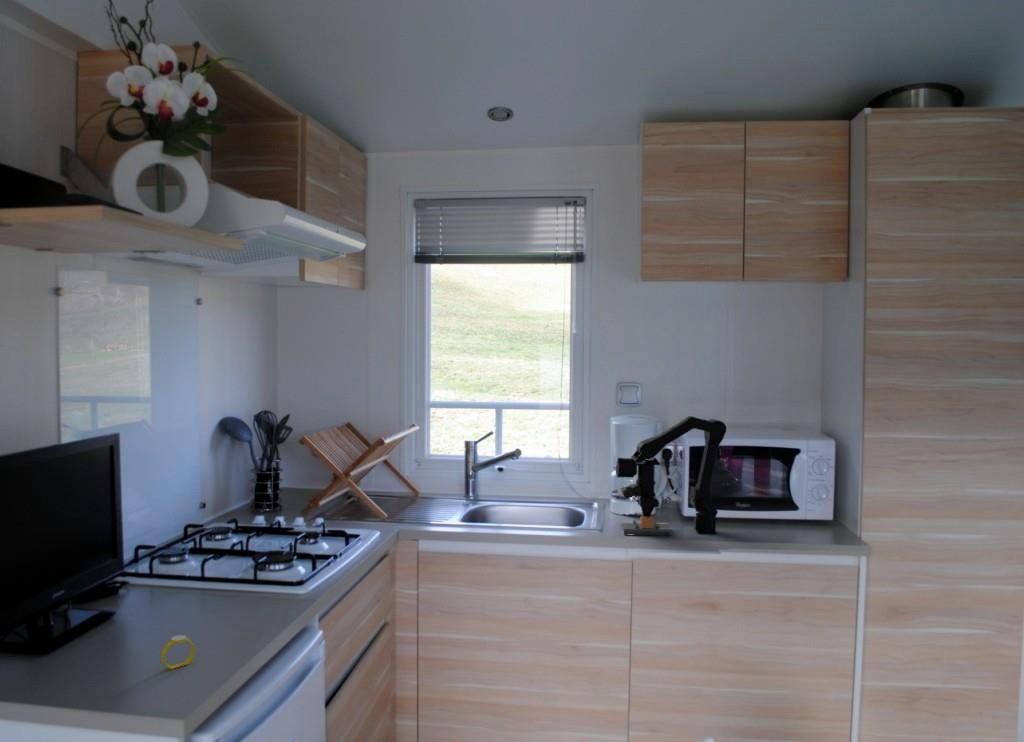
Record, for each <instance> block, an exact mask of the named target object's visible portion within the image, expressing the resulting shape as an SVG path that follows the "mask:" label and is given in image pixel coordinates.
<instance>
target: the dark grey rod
mask: <svg viewBox="0 0 1024 742" xmlns="http://www.w3.org/2000/svg"><path fill="white" fill-rule="evenodd" d="M624 534H634V535H633V536H640V535H648V537H649V536H650V537H657V536H658V537H659V536H660V537H670V536H671V535H670V532H624V533H623V535H624Z"/></svg>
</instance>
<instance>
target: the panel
mask: <svg viewBox="0 0 1024 742" xmlns="http://www.w3.org/2000/svg"><path fill="white" fill-rule="evenodd" d="M669 524H670V523H668V522H667V523H666V522H665V523H664V522H657V521H656V520H653V528H641V522H640V523H639V522H637V520H635V519H634V520H632V522H621V523H620V527H622V529H621V531H622V530H623V531H622V533H623V532H670V536H672V530H673V528H672V527H670V526H669Z"/></svg>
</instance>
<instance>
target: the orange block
mask: <svg viewBox="0 0 1024 742" xmlns="http://www.w3.org/2000/svg"><path fill="white" fill-rule="evenodd" d="M653 521H654V517H653V516H652V515H650V516H643V515H641V516H640V523H641V528H653Z"/></svg>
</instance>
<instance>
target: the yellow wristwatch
mask: <svg viewBox="0 0 1024 742" xmlns="http://www.w3.org/2000/svg"><path fill="white" fill-rule="evenodd" d="M185 642H186V643H188V644H190V652H189V656H188V657H187V658H186V660H185V661H183V662H180V663H177V664H174V665H170V664H168V663H167V662H166V654H167V653H168V651H169V649H170V648H171V647H172V646H173V645H176V644H177V645H178V644H183V643H185ZM195 653H196V648H195V644H194V643H193V642H192V640H190V639H189V638H187V636H186V635H183V634H181V635H174V636H172V637H171V638H170V641H168V642H167V643H166V644H165V645H164V647H163V650H162V651H161V654H160V656H161V657H160V658H161V659H160V660H161V662H162V665H163V666H165V668H166V669H169V670H171V669H173V670H175V669H174V668H176V667H180V666H182V665H186V664H188V665H189V664H190V663H191V662H192V661H193V659H194V656H195ZM180 668H181V667H180ZM176 669H177V668H176Z"/></svg>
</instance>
